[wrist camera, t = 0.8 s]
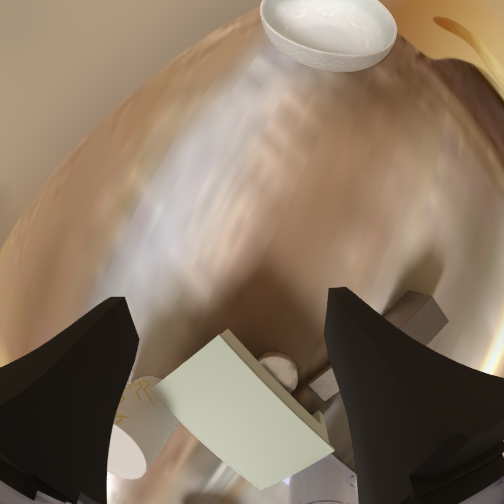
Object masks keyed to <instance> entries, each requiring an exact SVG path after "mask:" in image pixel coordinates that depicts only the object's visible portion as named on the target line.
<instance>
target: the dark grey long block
mask: <svg viewBox="0 0 504 504" xmlns="http://www.w3.org/2000/svg"><path fill="white" fill-rule="evenodd" d="M382 317H384V318H385V319H386V320H388V321H389V322H390V323H392V324H393V325H394V326H396V327H397V328H399V329H400V330H401V331H403V332H404V333H406V334H407V335H409V336H410V337H412V338H413V339H415V340H416V341H418V342H420V343H421V344H423V345H425V346H426V345H427V344H428V343H429V342H430V341H431V340H432V339H433V338H434V337H435V336H436V335H437V334H438V333H439V332H440V331H441V330H442V328H443V327H444V326H445V325H446V324H447V323H448V322H449V321H448V319H447V318H446V316H445V315H444V313H443V312H442V310H441V309H440V307H439V306H438V304H437V303H436V301H435V300H434V298H433V297H432V296H428V295H424V294H421V293H417V292H413V291H408V292H407V293H406V294H405V295H404V296H403V297H402V298H401V299H400V300H399V301H398V302H397V303H396V304H395V305H394V306H393V307H392V308H391V309H390V310H389V311H388V312H387V313H385V314H384V315H383V316H382ZM308 384H309V386H310V387H311V388H312V389H313V390H314V391H315V392H316V393H317V394H318V395H319V396H320V397H321V398H322V399H323V401H324V402H325V401H326V400H328V399H329V398H330V397H332V396H333V395H334V394H336V393H337V392H338V391H339V387H338V384H337V381H336V378H335V375H334V372H333V369H332V366H331V364H330V365H329V366H328V367H327V368H325V369H324V370H323V371H322V372H320V373H319V374H318V375H316V376H315V377H314V378H313V379H311V380H310V381H309V382H308Z"/></svg>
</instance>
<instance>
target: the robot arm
mask: <svg viewBox="0 0 504 504" xmlns="http://www.w3.org/2000/svg"><path fill="white" fill-rule="evenodd" d="M324 337H325V342H326V347H327V352H328V357H329V360H330V363H331V366H332V369H333V372H334V375H335V378H336V381H337V384H338V387H339V390H340V393H341V397H342V400H343V403H344V406H345V409H346V413H347V417H348V421H349V427H350V432H351V438H352V444H353V451H354V458H355V466H356V474H355V473H354V472H353V471H352V470H351V469H349V468H348V467H347V466H346V465H344V464H343V463H342V462H341V461H340V460H338V459H337V458H336V457H335V456H334V455H333V454H331V453H330V454H329V455H327V456H326V457H324V458H322V459H321V460H319V461H317V462H315V463H314V464H312V465H310V466H308V467H307V468H305V469H303V470H301V471H299V472H297V473H296V474H294V475H292V476H290V477H288V478H286V479H284V480H282V481H283V482H285V483H286V484H287V485H289V500H288V504H504V457H503V455H502V453H503V452H504V441H503V440H504V378H502V377H498V376H494V375H490V374H487V373H484V372H481V371H478V370H475V369H473V368H470V367H467V366H465V365H463V364H460V363H458V362H456V361H454V360H451V359H449V358H447V357H445V356H443V355H441V354H439V353H437V352H435V351H433V350H432V349H430V348H428V347H426V346H425V345H423V344H421V343H420V342H418V341H416V340H415V339H413V338H412V337H410V336H409V335H407V334H406V333H404V332H403V331H401V330H400V329H399V328H397V327H396V326H394V325H393V324H392V323H390V322H389V321H388V320H386V319H385V318H384V317H382V316H381V315H380V314H379V313H377V312H376V311H375V310H374V309H372V308H371V307H370V306H369V305H368V304H366V303H365V302H364V301H363V300H362V299H360V298H359V297H358V296H357V295H356V294H354V293H353V292H352V291H351V290H349V289H348V288H347V287H338V288H329V292H328V302H327V311H326V320H325V329H324ZM138 344H139V337H138V334H137V331H136V328H135V326H134V323H133V320H132V317H131V314H130V311H129V308H128V305H127V302H126V299H125V297H110V298H108V299H106V300H105V301H103V302H102V303H100V304H99V305H97V306H96V307H95V308H93V309H92V310H90V311H89V312H88V313H86V314H85V315H84V316H82V317H81V318H80V319H78V320H77V321H76V322H74V323H73V324H72V325H70V326H69V327H68V328H66V329H65V330H63V331H62V332H61V333H59V334H58V335H56V336H55V337H54V338H52V339H51V340H49V341H48V342H46V343H45V344H43V345H42V346H40V347H39V348H37V349H35V350H34V351H32V352H30V353H29V354H27V355H25V356H23V357H21V358H19V359H17V360H15V361H13V362H11V363H9V364H7V365H5V366H3V367H0V504H66V502H68V503H71V504H107V465H108V455H109V447H110V440H111V434H112V429H113V424H114V419H115V415H116V412H117V409H118V406H119V403H120V400H121V397H122V395H123V392H124V389H125V386H126V384H127V381H128V378H129V376H130V373H131V370H132V367H133V365H134V362H135V357H136V353H137V349H138ZM352 475H353V476H352ZM356 481H357V486H358V495H357V491H356V487H355V484H354V482H356Z"/></svg>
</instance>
